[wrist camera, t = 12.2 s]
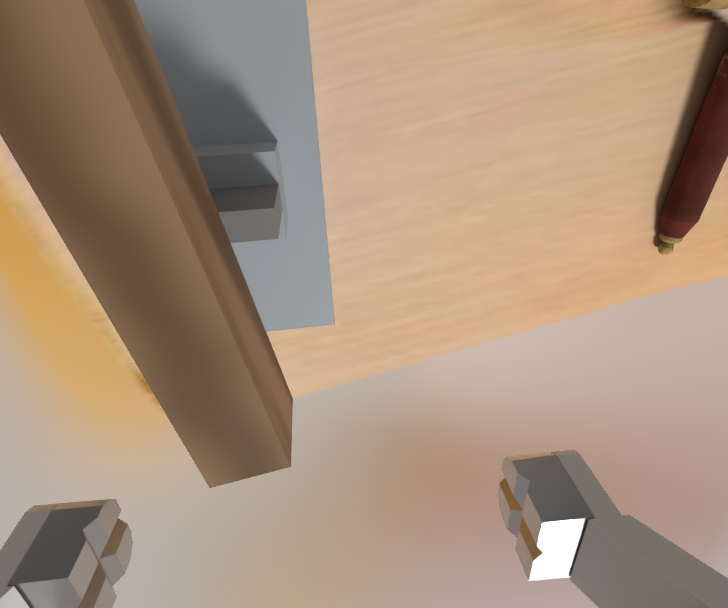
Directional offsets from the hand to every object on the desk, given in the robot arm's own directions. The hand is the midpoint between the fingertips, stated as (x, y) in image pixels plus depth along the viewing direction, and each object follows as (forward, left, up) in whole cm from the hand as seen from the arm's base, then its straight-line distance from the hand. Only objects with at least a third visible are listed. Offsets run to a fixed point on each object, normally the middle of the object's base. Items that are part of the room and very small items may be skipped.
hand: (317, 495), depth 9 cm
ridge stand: (+6, -2, -24) cm, 25 cm away
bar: (+6, -2, -14) cm, 15 cm away
